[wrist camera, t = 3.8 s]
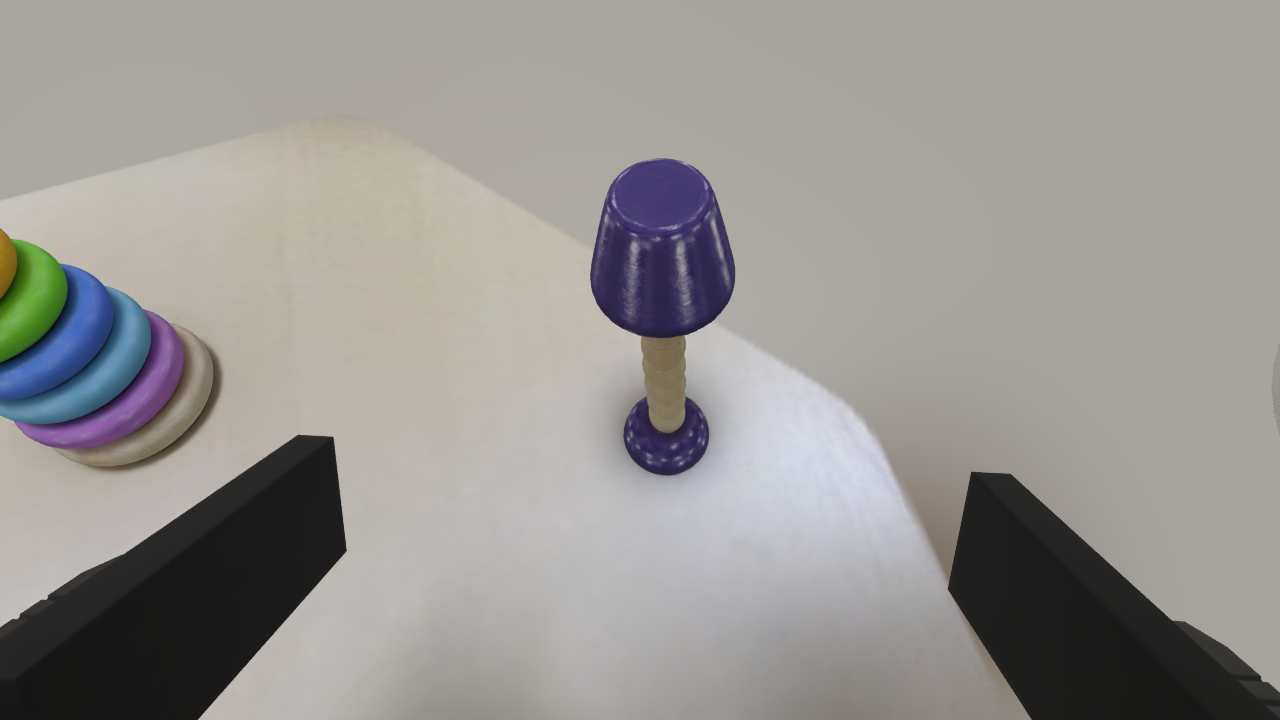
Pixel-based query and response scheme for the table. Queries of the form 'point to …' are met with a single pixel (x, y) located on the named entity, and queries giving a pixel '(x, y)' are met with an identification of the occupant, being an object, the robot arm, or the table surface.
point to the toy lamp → (663, 296)
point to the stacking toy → (92, 363)
